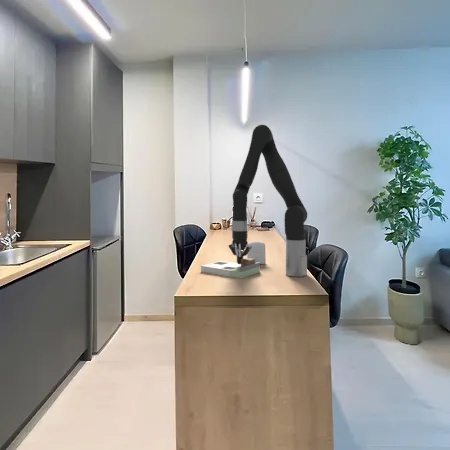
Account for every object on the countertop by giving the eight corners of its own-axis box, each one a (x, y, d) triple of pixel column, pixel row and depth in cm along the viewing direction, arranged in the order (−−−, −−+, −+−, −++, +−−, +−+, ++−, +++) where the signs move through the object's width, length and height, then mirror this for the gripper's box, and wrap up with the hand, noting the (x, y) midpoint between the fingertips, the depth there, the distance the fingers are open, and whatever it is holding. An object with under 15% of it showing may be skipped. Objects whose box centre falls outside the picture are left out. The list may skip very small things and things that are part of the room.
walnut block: (254, 266, 187) (254, 258, 186) (249, 268, 183) (249, 260, 182) (246, 265, 190) (246, 257, 189) (240, 267, 186) (240, 259, 185)
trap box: (259, 272, 188) (259, 262, 188) (241, 278, 176) (241, 267, 175) (220, 266, 203) (220, 257, 203) (201, 271, 191) (200, 261, 190)
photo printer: (247, 264, 207) (247, 242, 206) (246, 263, 211) (246, 241, 210) (266, 264, 208) (266, 242, 207) (264, 262, 212) (264, 241, 211)
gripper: (255, 229, 186) (255, 264, 188) (233, 228, 194) (233, 261, 196) (246, 231, 181) (246, 266, 182) (224, 229, 189) (224, 263, 190)
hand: (239, 263), depth 189 cm, fingers closed
